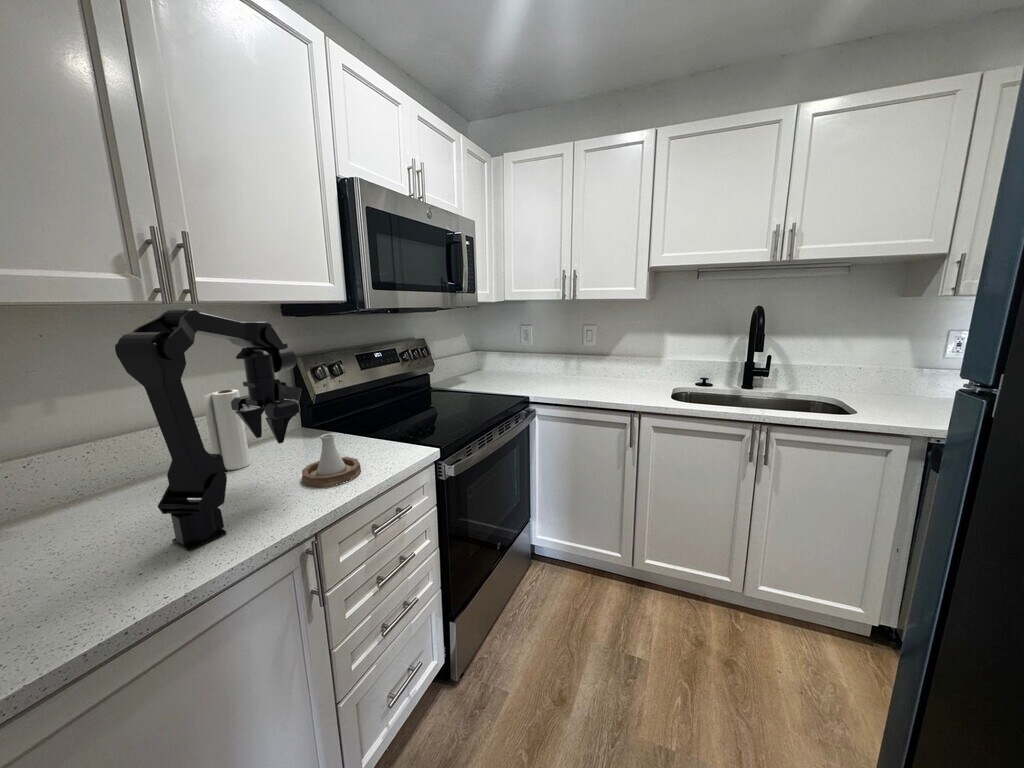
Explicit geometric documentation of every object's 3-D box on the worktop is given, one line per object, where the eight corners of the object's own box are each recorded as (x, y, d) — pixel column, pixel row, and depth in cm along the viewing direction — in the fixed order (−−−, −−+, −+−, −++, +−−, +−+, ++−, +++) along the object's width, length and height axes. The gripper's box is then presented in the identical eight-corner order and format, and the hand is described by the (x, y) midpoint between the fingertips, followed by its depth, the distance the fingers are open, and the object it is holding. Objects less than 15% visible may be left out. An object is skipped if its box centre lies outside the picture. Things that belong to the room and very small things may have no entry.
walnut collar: (326, 491, 96) (325, 482, 95) (290, 480, 102) (288, 472, 102) (372, 470, 108) (371, 461, 107) (337, 461, 114) (336, 453, 114)
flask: (336, 479, 101) (332, 440, 99) (310, 477, 102) (305, 440, 100) (352, 467, 108) (348, 431, 106) (327, 466, 109) (322, 430, 107)
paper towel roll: (253, 460, 116) (241, 388, 112) (247, 468, 111) (234, 392, 106) (224, 464, 114) (211, 390, 110) (216, 472, 108) (202, 394, 104)
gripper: (317, 373, 97) (324, 436, 100) (272, 369, 106) (279, 426, 109) (270, 381, 87) (279, 450, 90) (225, 375, 96) (235, 438, 99)
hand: (269, 440), depth 97 cm, fingers open, 9 cm apart
